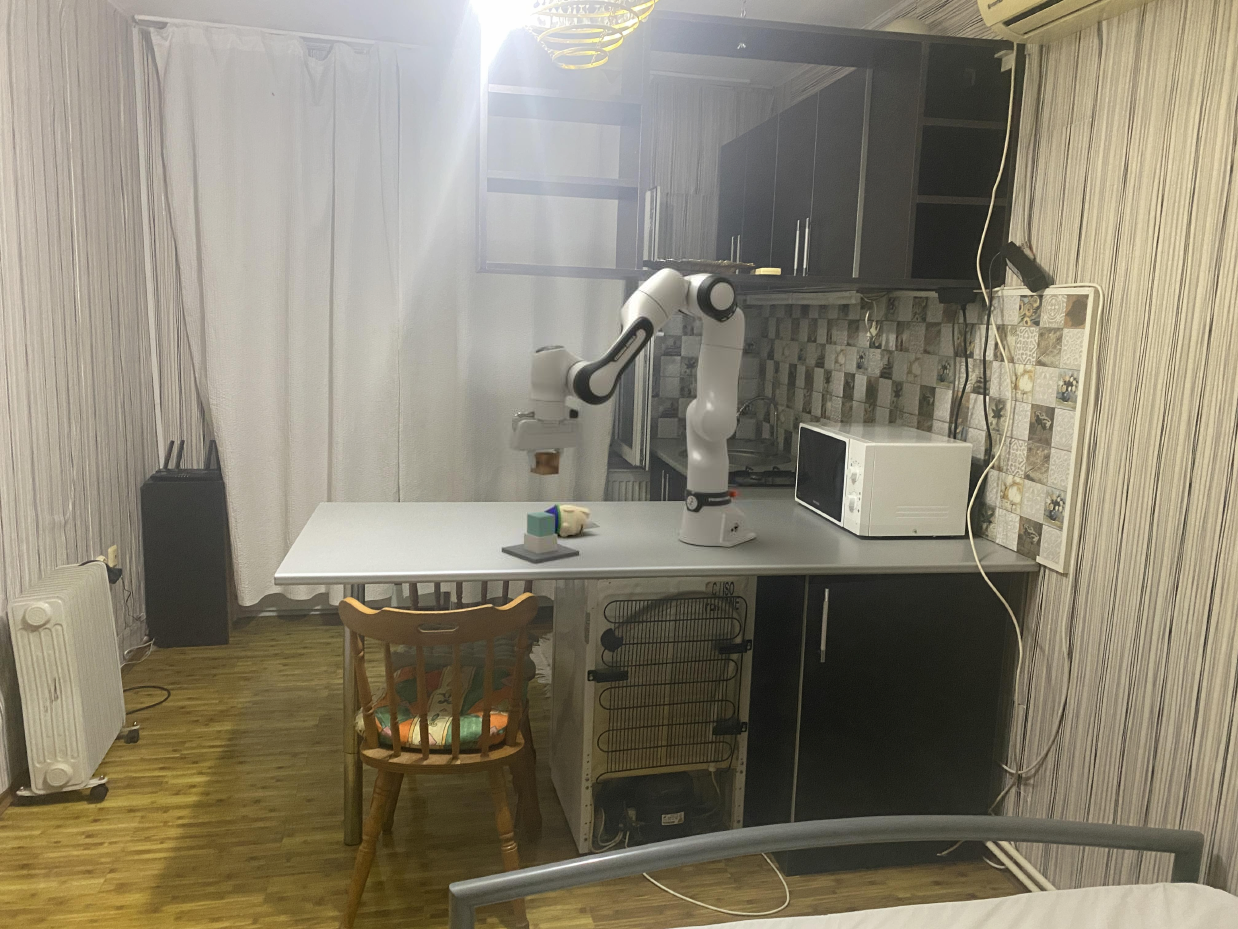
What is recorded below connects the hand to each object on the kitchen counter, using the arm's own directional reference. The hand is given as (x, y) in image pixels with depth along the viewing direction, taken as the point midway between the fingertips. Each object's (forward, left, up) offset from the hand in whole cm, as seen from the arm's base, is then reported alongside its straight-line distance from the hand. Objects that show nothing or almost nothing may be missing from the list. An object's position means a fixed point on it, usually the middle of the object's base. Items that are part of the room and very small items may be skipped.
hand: (544, 466), depth 229 cm
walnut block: (0, 0, -2) cm, 2 cm away
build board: (0, -1, -22) cm, 22 cm away
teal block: (0, -1, -17) cm, 17 cm away
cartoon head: (-17, -13, -23) cm, 31 cm away
